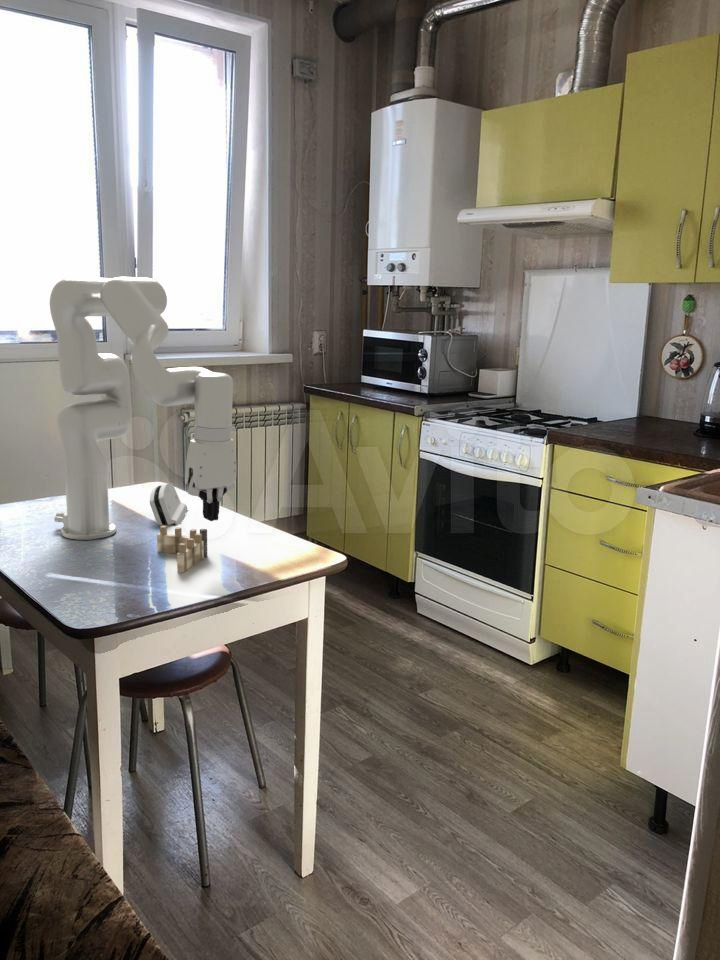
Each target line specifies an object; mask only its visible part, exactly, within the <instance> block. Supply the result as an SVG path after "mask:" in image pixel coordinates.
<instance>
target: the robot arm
mask: <svg viewBox="0 0 720 960" xmlns="http://www.w3.org/2000/svg"><path fill="white" fill-rule="evenodd" d="M167 303H168V297H167V293H166V291H165V288H164V287H163V286H162V285H161V283H159V282H158V281H157V280H155V279H153V278H149V277H137V276H136V277H135V276H133V277H132V276H118V277H113V278H112V277H111V278H109V277H108V278H107V277H93V276H91V277H90V276H77V277H76V276H74V277H68V278H65V279H62V280H60V281H58V282H57V283H55V285H54V286H53V288H52V290H51V293H50V297H49V309H50V316H51V320H52V323H53V326H54V329H55V333H56V339H57V353H58V364H59V374H60V375H59V376H60V377H59V378H60V381H61V382H60V383H61V386H62V389H63V391H65V393H66V394H67V395H70V396H72V397H86V396H94V395H96V396H99V395H100V399H97V400H87V401H85V400H84V401H77V402H72V403H71V404H67V405H65V406H64V407H62V408H61V410H60V411H59V412H58V414H57V419H56V422H57V424H56V425H57V429H58V432H59V437H60V442H61V447H62V452H63V453H62V455H63V463H64V465H63V466H64V480H65V483H64V484H65V497H66V498H65V500H66V503H65V504H66V512H61V511H57V512H56V513H55V514H56V515H55V517H54V522H55V523H62V524H63V526H62V528H61V529H60V534H61V536H62V537H64V538H66V539H70V540H78V541H79V540H80V541H81V540H82V541H87V540H97V539H103V538H106V537H110V536H112V535H114V534H115V533H116V531H117V526H116V524H115V523H112V522H110V513H109V512H110V511H109V509H110V508H109V488H108V487H109V484H108V463H107V458H106V455H105V453H104V452H103V450H102V449H101V447H100V446H99V444H98V442H100V441H105V440H106V441H107V440H111V439H112V440H113V439H117V438H121V437H124V436H125V435H127V434H128V433H129V431H130V430H131V427H132V422H133V417H132V416H133V414H132V412H133V411H132V398H131V381H130V373H129V371H128V367H127V366H126V363H125V362H124V360H123V359H122V358H121V357H120V356H119V355H117V354H114V353H109V352H108V353H104V352H103V353H99V351H98V345H97V342H98V341H97V340H98V339H97V335H96V333H95V329H94V328H93V326H92V325H91V323H90V322H89V321H88V319H87V318H86V317H111V318H112V319H113V320H114V322H115V324H117V326H118V328H119V329H120V330H121V332H123V333H122V334H124V335H125V337H126V338H127V340H128V341H129V343H131V345H132V348H131V352H130V353H131V356H130V361H131V362H130V363H131V368H132V371H133V375H134V377H135V379H136V381H137V383H138V384H139V386H140V387H141V388H142V389H143V391H144V392H145V394H146V395H147V396H148V397H149V398H150V399H151V400H152V402H154V403H156V404H157V405H159V406H161V407H162V406H163V407H173V406H181V405H190V404H191V405H192V404H194V422H193V423H194V424H193V426H194V428H193V429H194V430H193V431H194V434H193V439H190V441H189V444H188V449H187V454H186V459H185V471H184V483H185V484H186V486H188V489H187V494H188V495H190V496H194V497H198V498H200V500H201V501H202V516H203V518H204V519H205V520H208V521H210V522H214V521H219V514H220V503H221V502H222V501H223V497H224V495H225V494H226V493H227V492H230V491H231V490H234V488H235V483H236V479H237V452H236V446H235V442H234V439H233V438H232V437H233V433H235V432H236V430H237V428H236V426H234V425H233V397H234V395H233V394H234V381H233V380H234V379H233V377H232V376H231V375H230V374H228V373H224V372H218V371H216V372H215V371H212V370H209V369H207V368H205V367H202V366H183V367H182V366H181V367H172V368H171V367H169V368H165V367H164V366H163V364H162V363H161V362H160V360H159V359H158V357H157V356H156V355H155V353H154V350H156V349H157V348H158V347H159V346H161V345H162V344H163V343H164V342H165V340H166V339H167V337H168V335H169V329H170V328H169V326H168V324H167V321H166V320H165V319H164V318H163V316H162V315H161V314H163V313H164V312H165V310H166V308H167ZM159 348H160V347H159Z"/></svg>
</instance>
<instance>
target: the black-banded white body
mask: <svg viewBox="0 0 720 960" xmlns="http://www.w3.org/2000/svg"><path fill="white" fill-rule="evenodd" d="M149 506H150V508H151V510H152V513H153V516H154V519H155V522H156V525H158V526H170V525H173V524H175V526H179V525H182V523H181V522H183V521H184V519H185V517H186V515H185V513H186V511H187V509H188V506H187V504H186V503H183V502H181V500H180V497H179V495H178V493H177V491H176V488H175V486H174V484H173V483H170V482H168V483H164V484H162V485H157V486H156V487H154V488H153V489H152V490H151V493H150V496H149ZM186 514H187V513H186ZM184 516H185V517H184ZM183 518H184V519H183ZM182 520H183V521H182Z"/></svg>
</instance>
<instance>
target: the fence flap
mask: <svg viewBox="0 0 720 960" xmlns="http://www.w3.org/2000/svg"><path fill="white" fill-rule="evenodd" d="M204 559H205V558H204V541H202V534H200V533H196V534H195V543H194V539H192V538H189V539H187V548H186V544H184V543H180V544H179V553H178V554H176V561H177V562H176V564H177V566H176V567H177V568H176V569H177V571H176V572H177V573H183V574H184V572H185V571H187V570H189V569H190V568H191V567H193V566H195V565H196V564H198V563H199V562H200V561H202V560H204Z"/></svg>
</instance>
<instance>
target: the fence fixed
mask: <svg viewBox="0 0 720 960" xmlns="http://www.w3.org/2000/svg"><path fill="white" fill-rule="evenodd" d="M182 529H183V528H182V527H175V528H174V534H171V533H168V525H160V527H159V532H158V533H157V534H156V541H157V542H156V545H157V552H158V553H159V552H160V553H165V554H166V553H169V554H175V555H177V554H178V553H179V544H180V543H184V544H186V548H187V539H189V538H192V539H194V543H195V534H197V529H195V528H192V529H190V530H189V535H183V534H182ZM199 534H202V541H204V558H203V559H205V558H208V529H207V528H201V529H199Z"/></svg>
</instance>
